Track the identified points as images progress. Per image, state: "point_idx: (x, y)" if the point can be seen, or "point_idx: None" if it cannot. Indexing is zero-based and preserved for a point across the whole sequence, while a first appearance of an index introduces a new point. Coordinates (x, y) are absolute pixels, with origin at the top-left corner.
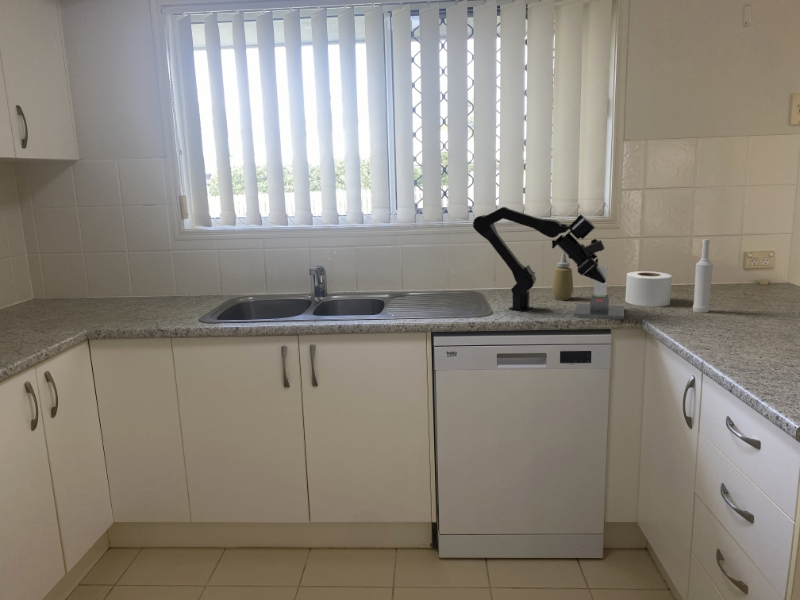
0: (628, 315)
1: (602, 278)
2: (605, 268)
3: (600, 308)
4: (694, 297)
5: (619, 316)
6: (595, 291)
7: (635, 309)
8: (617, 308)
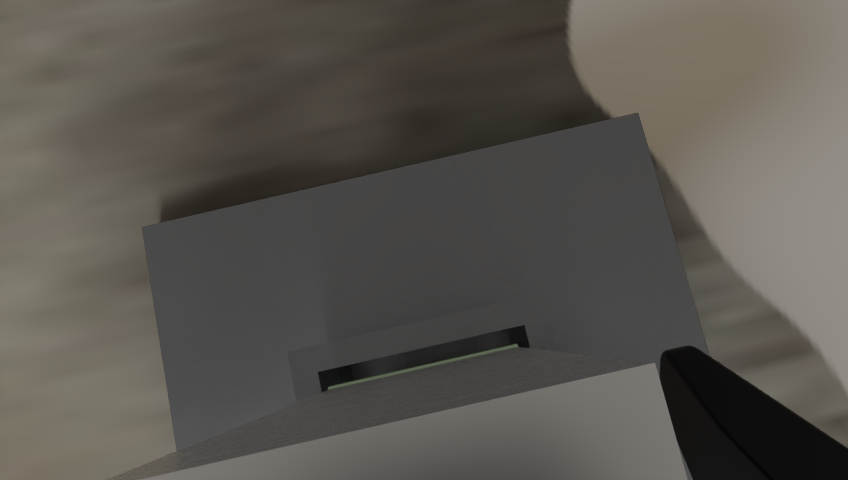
0: (427, 126)
1: (788, 427)
2: (673, 442)
3: None
4: None
5: (646, 157)
6: None
7: (126, 125)
8: (302, 256)
